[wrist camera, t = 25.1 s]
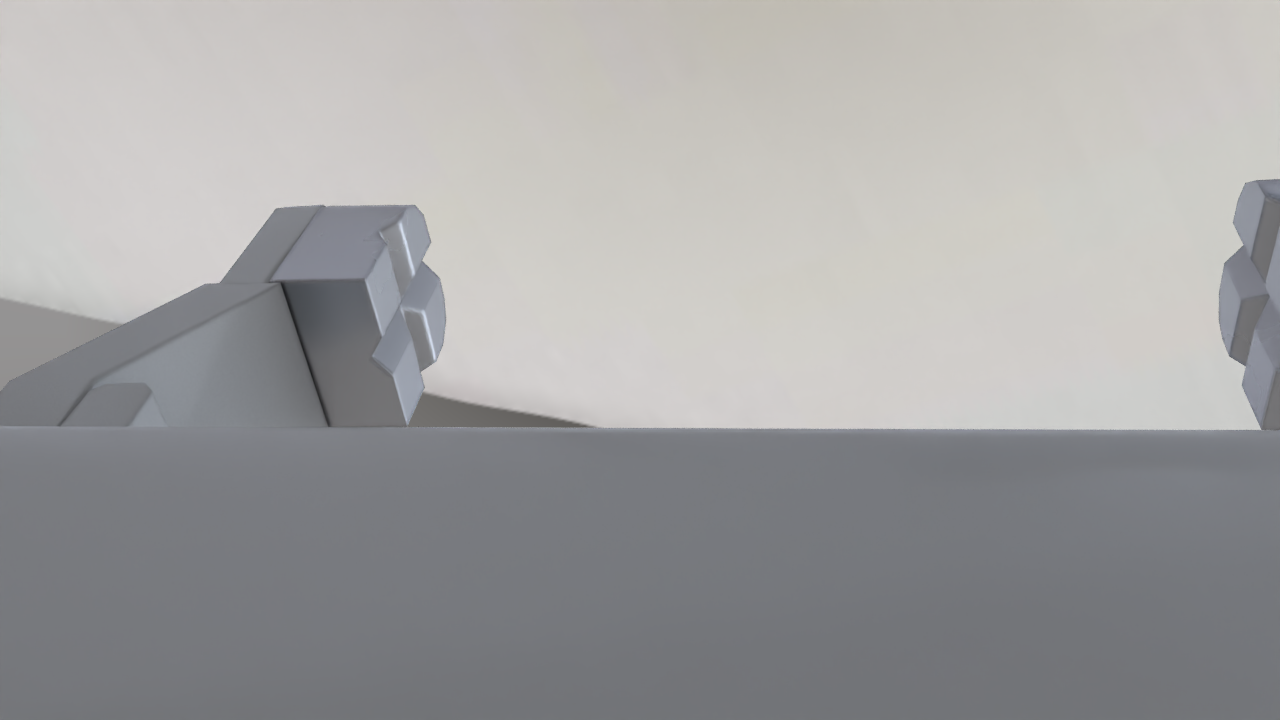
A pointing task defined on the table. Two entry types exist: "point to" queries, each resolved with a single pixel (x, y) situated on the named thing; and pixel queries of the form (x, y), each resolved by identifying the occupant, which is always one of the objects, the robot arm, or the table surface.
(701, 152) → the table surface
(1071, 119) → the table surface
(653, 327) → the table surface
